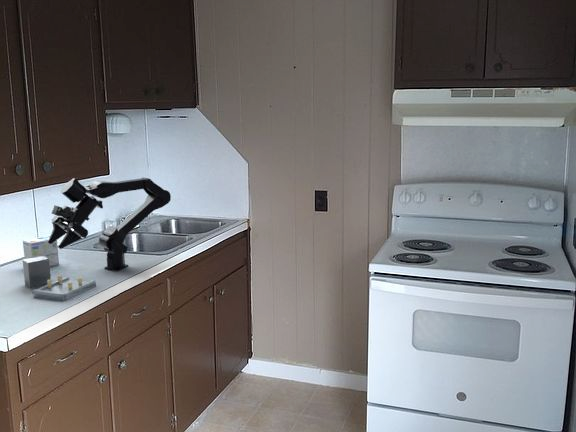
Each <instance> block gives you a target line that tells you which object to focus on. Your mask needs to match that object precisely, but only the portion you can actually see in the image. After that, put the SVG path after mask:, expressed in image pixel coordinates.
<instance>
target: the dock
mask: <svg viewBox="0 0 576 432" xmlns="http://www.w3.org/2000/svg"><path fill="white" fill-rule="evenodd" d="M96 283H97V281H96V280H95V279H91V280H90V281H86V280H83V277H77V279H70V277H69V276H65V277H63V278H62V274H60V275H59V274H58V275H57V280H56V281H55V280H54V281H53V282H52V279H51V280H47V284H48V285H44V286H40V287H38V288H37V289H33V290H32V294H33V295H32V296H33V298H39V299H45V300H54V301H60V302H61V301H63V302H65V301H68V300H69V299H71V298H73V297H76V296H78V295H80V294H81V293H84V292H85V291H88V290H90V289H93V288H94V287H96V285H97V284H96Z"/></svg>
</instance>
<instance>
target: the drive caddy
mask: <svg viewBox="0 0 576 432" xmlns="http://www.w3.org/2000/svg"><path fill="white" fill-rule="evenodd" d="M22 266H23V267H22V269H23V278H24V285H25V286H26V287H28V289H34V288H40V287H44V286H46V285H48V284H47V280H51V281H52V278H51V277H52V276H51V268H50V267H51V266H50V265H49V259H48V258H46V257H44V256H40V257H35V258H29V259H25V258H24V259H22Z"/></svg>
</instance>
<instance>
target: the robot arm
mask: <svg viewBox="0 0 576 432" xmlns="http://www.w3.org/2000/svg"><path fill="white" fill-rule="evenodd" d="M139 190H143V191H144V192H145V193H146V194H147V196H146V198H145V201H144V202H143V203H142V204H141V205H140V206H139V207H138V208H136V209H135V210H134V211H133V212H132V213H131V214H130V215H129V216H127V217H126V218H125V219H124V220H123V221H122V222H120V223H119V224H118V225H117V226H115V227H113V226H111V225H109V226H108V227H107V228H106V229H105V230H103V231H101V234H100V236H99V237H98V238H99V239H98V243H99V246H101V247H102V248H103V250H104V251H105V252H107V253H106V266H104V267H103V268H104V270H111V271H120V270H123V269H125V268H127V267H129V264H125V263H126V260H125V254H126V253H127V251H128V246H127V245H125V244H124V243H125V239H126V237H127V235H128V234H129V233H131V232H132V231H133V230H134V229H135V228H136V227H137V226H138V225H140V224H141V223H142V222H143V221H144V220H145V219H146V218H148V217H149V216H150V215H151V214H152V213H153V212H154V211H156V210H158V209H162V208H163V207H164V206H167V205H168V204H169V203H170V202H171V199H172V197H171V193H170V191H169V190H166V189H164V188H162V187H161V186H160V185H158V184H157V183H155V182H154V181H153V180H152V179H151V178H148V177H141V178H136V179H134V178H133V179H127V180H126V179H125V180H121V181H119V180H118V181H102V180H94V181H92V182H91V183H90V184H88V185H85V186H84V185H82V184H81V183H80V182H79V180H77V178H72V179H71V180H69V181H68V182H67V181H66V183H65V184H63V185H62V186H61V188H60V191H59V192H60V193H61V194H62V195H63V196H64V197H66V198H67V199H68V200H69V201H71V203H77V204H76V205H75V206H74V207H72V206H71V207H69V206H67V205H64V206H63V207H61V206H58V205H56V204H54V205H53V207H52V208H53V209H52V211H51V214H52V215H54V216H53V218H52V219H51V221H52V222H51V224H52V227H53V228H52V232H51V234H50V235H49V236H50V238H49V241H48V243H49V244H52V243H53V242H55V241H56V240H57V241H58V240H59V239H61V238H62V237H63V239H61V242H60V243H59V245H58V249H59V250H62V249H64V248H66V247H68V246H69V245H70V246H71V244H74V243H75V242H77V241H80V240H83V239H86V238H87V236H89V230H88V229H87V228H86V227H84V226H83V224H84V223H85V222H86V221H87V222H88V221H89V220H90V218H89V217H90V216H91V214H92V213H93V211H94V210H95V209H96V208H99V209H103V208H104V205H103V200H100V199H106V198H111V197H113V196H114V195H116V194H119V193H123V192H130V191H139ZM88 194H89V195H88ZM90 195H91V196H90ZM98 198H99V200H98Z"/></svg>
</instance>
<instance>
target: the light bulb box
mask: <svg viewBox="0 0 576 432" xmlns="http://www.w3.org/2000/svg"><path fill="white" fill-rule="evenodd" d="M50 236H51V235H43V236H38V237H35V238H34V237H33V238H30V239H24V240H22V247H23V248H22V249H23V257H24V259H29V258H35V257H40V256H44V257H46V258H48V259H49V265H50V267H53V266H57V265H60V257H59V248H58V247H59V245H58V240H56V241H55V242H53V243H52V244H49V243H48V241H49V238H50Z"/></svg>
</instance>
